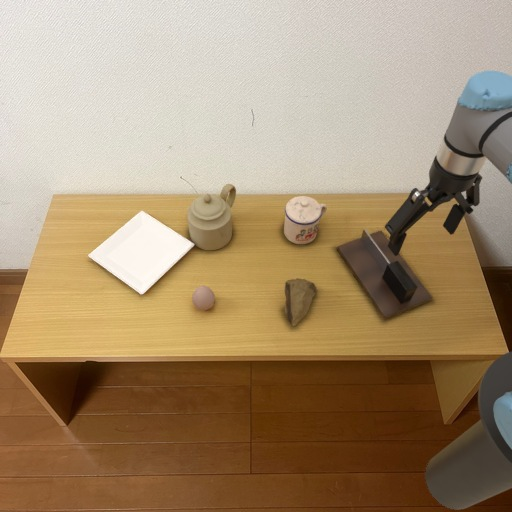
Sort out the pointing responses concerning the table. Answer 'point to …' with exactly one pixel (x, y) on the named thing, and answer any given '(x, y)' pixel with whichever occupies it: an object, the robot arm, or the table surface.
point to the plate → (141, 251)
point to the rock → (298, 298)
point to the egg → (203, 298)
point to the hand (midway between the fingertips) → (420, 240)
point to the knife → (391, 271)
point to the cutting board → (380, 276)
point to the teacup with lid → (302, 219)
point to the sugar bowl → (211, 219)
